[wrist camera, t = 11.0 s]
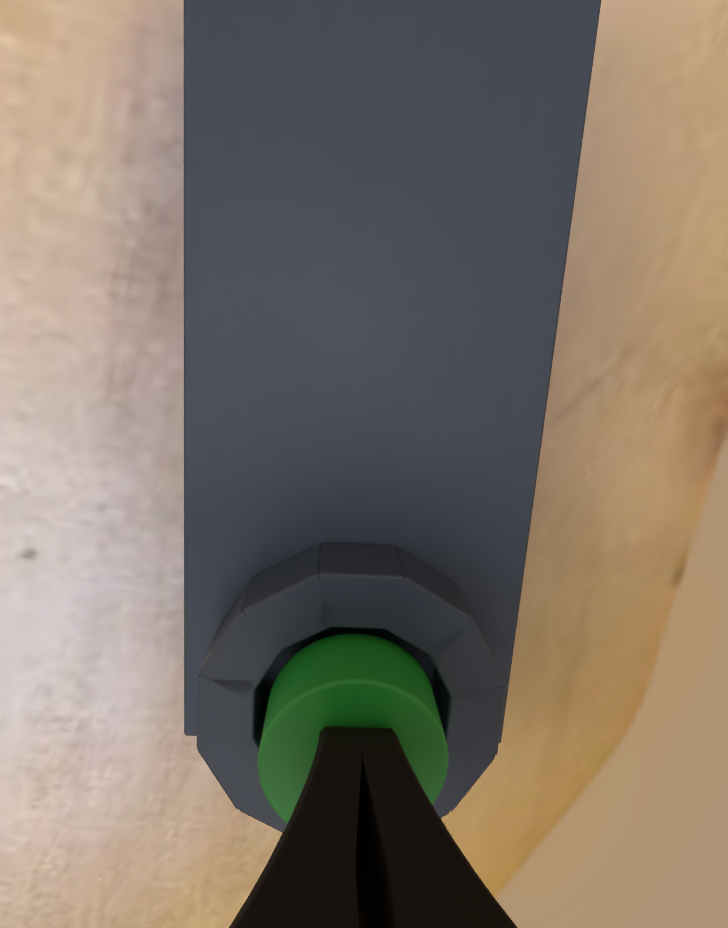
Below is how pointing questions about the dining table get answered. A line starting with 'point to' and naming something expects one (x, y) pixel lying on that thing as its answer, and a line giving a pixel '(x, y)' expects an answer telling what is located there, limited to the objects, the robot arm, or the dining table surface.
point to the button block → (368, 343)
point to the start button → (348, 712)
